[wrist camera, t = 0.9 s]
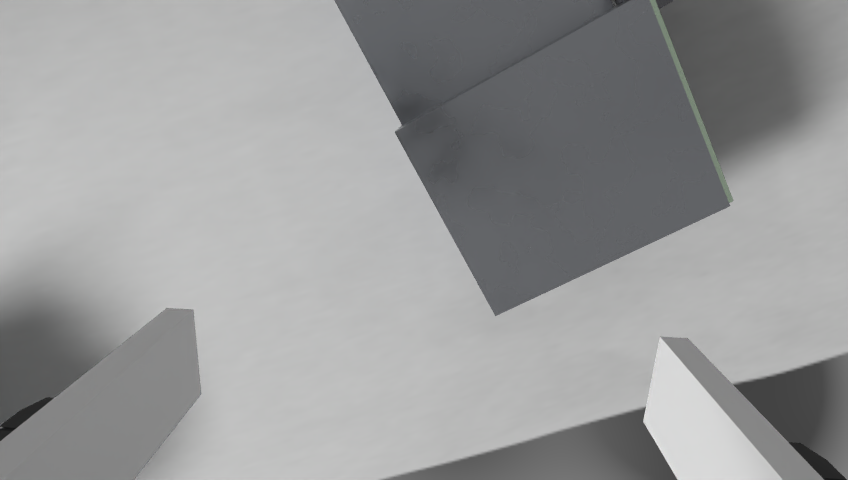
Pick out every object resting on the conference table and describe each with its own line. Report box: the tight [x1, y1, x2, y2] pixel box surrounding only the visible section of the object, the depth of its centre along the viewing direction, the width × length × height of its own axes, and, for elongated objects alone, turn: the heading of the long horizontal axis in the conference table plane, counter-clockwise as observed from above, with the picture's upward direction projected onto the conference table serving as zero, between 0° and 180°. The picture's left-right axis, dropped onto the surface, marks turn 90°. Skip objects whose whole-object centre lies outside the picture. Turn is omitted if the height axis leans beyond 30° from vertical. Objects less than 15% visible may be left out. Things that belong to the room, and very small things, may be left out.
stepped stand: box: [335, 0, 733, 316], centre depth 30 cm, size 24×16×10 cm
